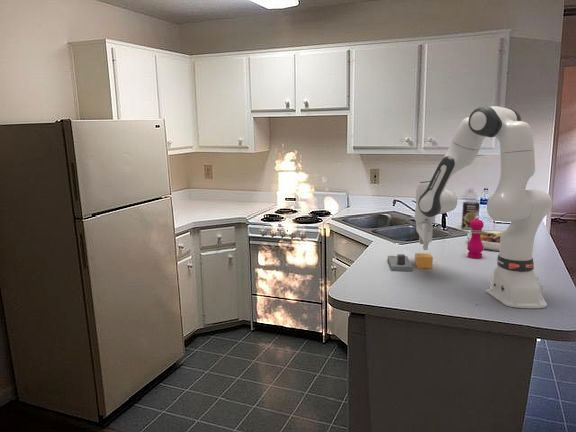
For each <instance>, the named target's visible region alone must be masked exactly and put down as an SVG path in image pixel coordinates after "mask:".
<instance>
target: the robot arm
mask: <svg viewBox="0 0 576 432" xmlns="http://www.w3.org/2000/svg"><path fill="white" fill-rule="evenodd" d="M532 131H533V130H532V128H531V126H530V124H529V123H528V122H526V121H522V117H521V115H520V113H519V112H518V111H517V110H515V109H513V108H510V107H502V106H497V105H491V106H488V105H486V106H480V107H478V108H476V109H474V110H473V111H472V112H471V113H470V115H469V116H468V117H465V118H463V120H461V122H460V124H459V125H458V127H457V129H456V130H455V133H454V135H453V137H452V140H451V142H450V145H449V147H448V149H447V151H446V153H445V155H444V156H443V157H442V159H441V160H440V162H439V164H438V166H437V167H436V169H435V171H434V174H433V176H432V177H431V179H430V180H426V181H425V180H424V181H420V182H419V183H418V184H417V186H416V189H415V190H416V192H415V209H414V221H415V229H416V233H417V234H418V239H419V242H418V243H419V245H422V249H423V250H424V251H428V249H429V244H430V243H433V223H434V222H435V221H436V216H438V215H441V214H446V213H449V212H452V211H454V210H455V209H456V207H457V205H458V198H457V195H456V193H454V192H453V191H452V190H450V189H446V186H447V184H448V183H449V180H450V179H451V178H452V176H453V175H455V174H456V173H457V172H459V171H461V170H463V169H464V168H466V167H469V166H470V165H471V164H472V163H473V162H474V160H475V159H476V158H477V156H478V154H479V152H480V149H481V148H482V147H481V146H482V144H483V141H484V140H485V139H486V138H487V137H488V138H491V139H492V138H496V139H498V141H499V145H500V146H499V151H500V152H499V153H500V176H499V181H498V184H497V187H496V189H495V191H494V193H493V194H492V195H491V196H490V197H489V198H488V200H487V202H486V211H487V214H488V216H489V218H491V219H492V220H493V221H496V222H503V223H509V225H508V227H506V229H505V230H503V231H504V232H503V233H502V235H501V237H500V250H499V251H498V253H499V254H498V255H497V259H496V262H497V263H496V265H497V266H496V267H495V269H494V270H492V274H491V281H490V282H491V283H490V288H487V289H486V291H485V292H486V293H487V294H489V295H490V296H491V297H493V298H494V299H496V300H497V301H499V302H500V303H501V304H503V305H504V306H507V307H510V308H517V309H544V308H547V307H548V303H547V302H546V300H545V298H544V297H543V295H542V293H541V291H543V290H544V283H540V282H539V277H537V275H536V273H535V270H534V269H535V267H534V265H535V264H534V263H535V262H534V258H533V253H534V252H533V250H534V243H535V237H536V234H537V232H538V229H539V227H540V225H541V223H542V221H543V219H544V218H545V217H546V216H547V215H549V213H550V212H551V210H552V207H553V200H552V197H551V196H550V194H549V193H548V192H546V191H543V190H539V189H526V188H527V185H528V182H529V181H530V179H531V178H533V176H534V174H535V173H536V162H535V160H536V158H535V154H536V153H535V142H534V136H533V132H532Z"/></svg>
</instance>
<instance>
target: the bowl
mask: <svg viewBox="0 0 576 432" xmlns="http://www.w3.org/2000/svg"><path fill="white" fill-rule="evenodd" d="M504 231H505V230H496V229H495V230H494V229H482V233H481V241H482V244H483V250H487V251H494V252H495V251H496V252H499V250H500V237H501V235H502V233H503V232H504ZM471 237H472V232H471V231H470V232H468V233H467V240H468V243H469V242H470V240H471Z"/></svg>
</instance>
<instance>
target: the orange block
mask: <svg viewBox="0 0 576 432" xmlns="http://www.w3.org/2000/svg"><path fill="white" fill-rule="evenodd" d="M431 254H432V253H430V252H428V253H426V252H425V253H424V252H423V253H421V252H419V253H417V252H415V253H414V266H416V269H433V259H434V257H433V256H432V255H431Z"/></svg>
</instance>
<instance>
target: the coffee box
mask: <svg viewBox="0 0 576 432" xmlns="http://www.w3.org/2000/svg"><path fill="white" fill-rule="evenodd" d="M461 212H462V214H461V226H460V227H461V230H462V229H467V231H471V229H472V228H471V227H470V222H471V221H472V220H474V219H475V217H476V216H479V215H480V202H476V201H475V202H471V201H470V202H468V201H466V202H464V201H463V202H462V211H461ZM479 217H480V216H479Z"/></svg>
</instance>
